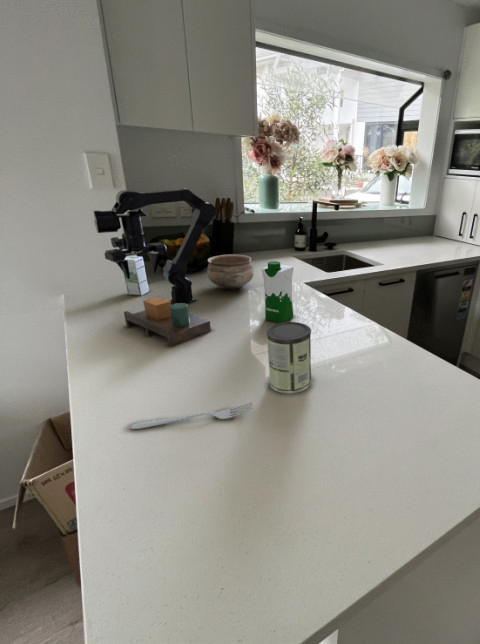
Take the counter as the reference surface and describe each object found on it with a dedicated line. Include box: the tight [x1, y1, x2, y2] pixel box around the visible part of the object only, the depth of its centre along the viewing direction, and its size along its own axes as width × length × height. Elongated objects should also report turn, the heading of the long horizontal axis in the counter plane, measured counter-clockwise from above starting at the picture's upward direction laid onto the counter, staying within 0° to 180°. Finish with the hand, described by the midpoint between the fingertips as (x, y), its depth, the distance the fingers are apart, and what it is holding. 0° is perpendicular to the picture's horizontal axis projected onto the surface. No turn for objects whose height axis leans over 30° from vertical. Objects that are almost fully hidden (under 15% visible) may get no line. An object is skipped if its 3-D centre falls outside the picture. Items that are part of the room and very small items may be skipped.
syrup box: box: [123, 255, 150, 296], centre depth 148 cm, size 6×6×14 cm
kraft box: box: [143, 296, 172, 320], centre depth 120 cm, size 5×7×5 cm
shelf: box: [123, 309, 212, 347], centre depth 119 cm, size 14×24×5 cm, turn 56°
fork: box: [129, 401, 254, 430], centre depth 78 cm, size 3×24×2 cm, turn 104°
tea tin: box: [170, 303, 190, 327], centre depth 114 cm, size 5×5×6 cm
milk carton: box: [261, 260, 294, 324], centre depth 126 cm, size 9×9×20 cm
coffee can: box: [265, 321, 312, 395], centre depth 90 cm, size 10×10×14 cm
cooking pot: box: [206, 253, 255, 291], centre depth 158 cm, size 25×19×12 cm
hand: (141, 276), depth 131 cm, fingers open, 9 cm apart
